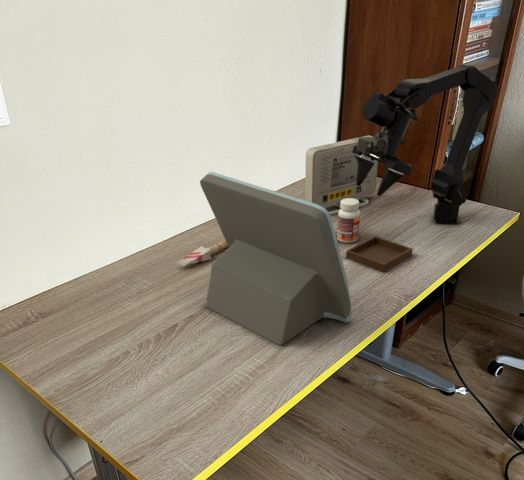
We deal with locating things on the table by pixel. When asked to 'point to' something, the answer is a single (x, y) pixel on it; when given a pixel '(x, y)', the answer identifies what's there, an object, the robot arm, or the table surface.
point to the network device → (336, 175)
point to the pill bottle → (348, 221)
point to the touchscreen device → (274, 260)
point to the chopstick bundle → (202, 254)
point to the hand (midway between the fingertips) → (367, 190)
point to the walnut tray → (379, 253)
